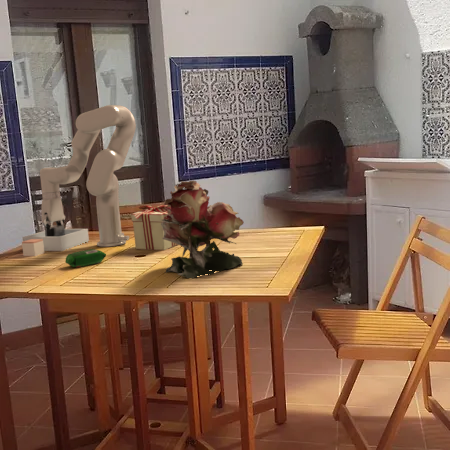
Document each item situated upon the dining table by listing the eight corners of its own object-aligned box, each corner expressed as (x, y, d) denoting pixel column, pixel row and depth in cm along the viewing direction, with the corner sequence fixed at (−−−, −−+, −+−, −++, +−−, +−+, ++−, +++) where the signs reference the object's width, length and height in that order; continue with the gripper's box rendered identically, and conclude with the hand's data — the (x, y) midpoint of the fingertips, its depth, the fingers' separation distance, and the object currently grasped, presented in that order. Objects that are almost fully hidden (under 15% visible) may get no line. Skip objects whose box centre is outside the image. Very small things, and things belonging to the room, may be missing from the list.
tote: (89, 241, 288) (87, 228, 287) (62, 251, 270) (60, 237, 269) (52, 241, 296) (51, 229, 295) (23, 250, 278) (22, 237, 277)
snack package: (110, 262, 240) (108, 248, 240) (71, 269, 231) (69, 255, 230) (101, 260, 246) (100, 246, 245) (63, 267, 237) (61, 253, 236)
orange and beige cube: (44, 253, 269) (42, 239, 268) (35, 256, 263) (33, 241, 262) (32, 253, 271) (31, 239, 270) (23, 256, 265) (21, 241, 264)
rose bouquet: (254, 262, 222) (249, 175, 217) (193, 280, 201) (185, 185, 197) (203, 255, 239) (197, 175, 235) (142, 271, 219) (134, 184, 214)
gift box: (129, 251, 258) (125, 209, 256) (151, 242, 275) (148, 203, 272) (167, 251, 252) (163, 208, 249) (187, 242, 268) (184, 202, 266)
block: (65, 236, 284) (64, 225, 283) (56, 238, 278) (55, 227, 278) (54, 236, 286) (53, 225, 285) (45, 238, 281) (44, 227, 280)
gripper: (56, 193, 289) (60, 233, 291) (31, 198, 273) (36, 240, 276) (70, 193, 286) (74, 233, 289) (46, 198, 270) (50, 240, 273)
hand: (55, 236), depth 282 cm, fingers closed on block, 6 cm apart
